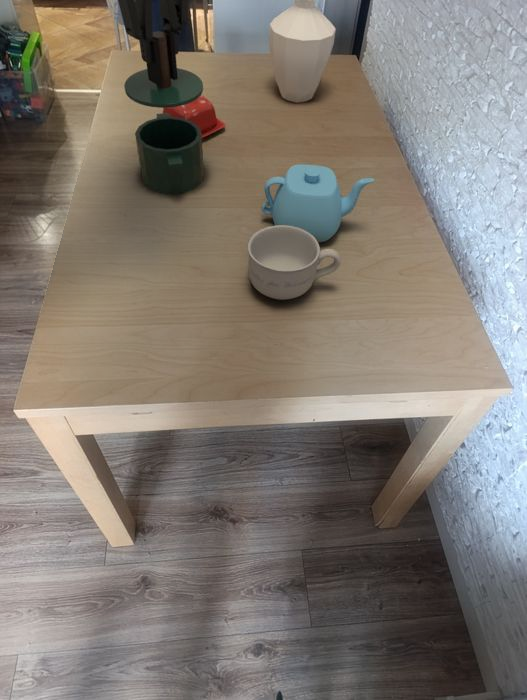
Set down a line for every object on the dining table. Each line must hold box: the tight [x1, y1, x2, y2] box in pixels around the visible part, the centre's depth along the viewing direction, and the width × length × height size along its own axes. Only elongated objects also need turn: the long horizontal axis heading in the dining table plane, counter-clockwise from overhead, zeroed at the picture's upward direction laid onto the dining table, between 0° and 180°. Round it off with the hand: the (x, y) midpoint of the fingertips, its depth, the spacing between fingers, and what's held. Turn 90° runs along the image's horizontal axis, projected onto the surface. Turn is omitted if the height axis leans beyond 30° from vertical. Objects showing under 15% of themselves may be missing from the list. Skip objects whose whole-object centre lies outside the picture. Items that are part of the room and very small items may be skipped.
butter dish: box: [162, 94, 226, 139], centre depth 103 cm, size 12×12×8 cm
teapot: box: [261, 164, 375, 243], centre depth 85 cm, size 13×11×18 cm
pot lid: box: [123, 30, 204, 109], centre depth 80 cm, size 13×13×9 cm
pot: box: [134, 112, 205, 195], centre depth 93 cm, size 12×17×8 cm
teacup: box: [247, 225, 342, 300], centre depth 77 cm, size 14×11×8 cm
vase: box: [268, 0, 337, 104], centre depth 109 cm, size 14×14×25 cm
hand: (163, 78), depth 82 cm, fingers closed on pot lid, 2 cm apart
